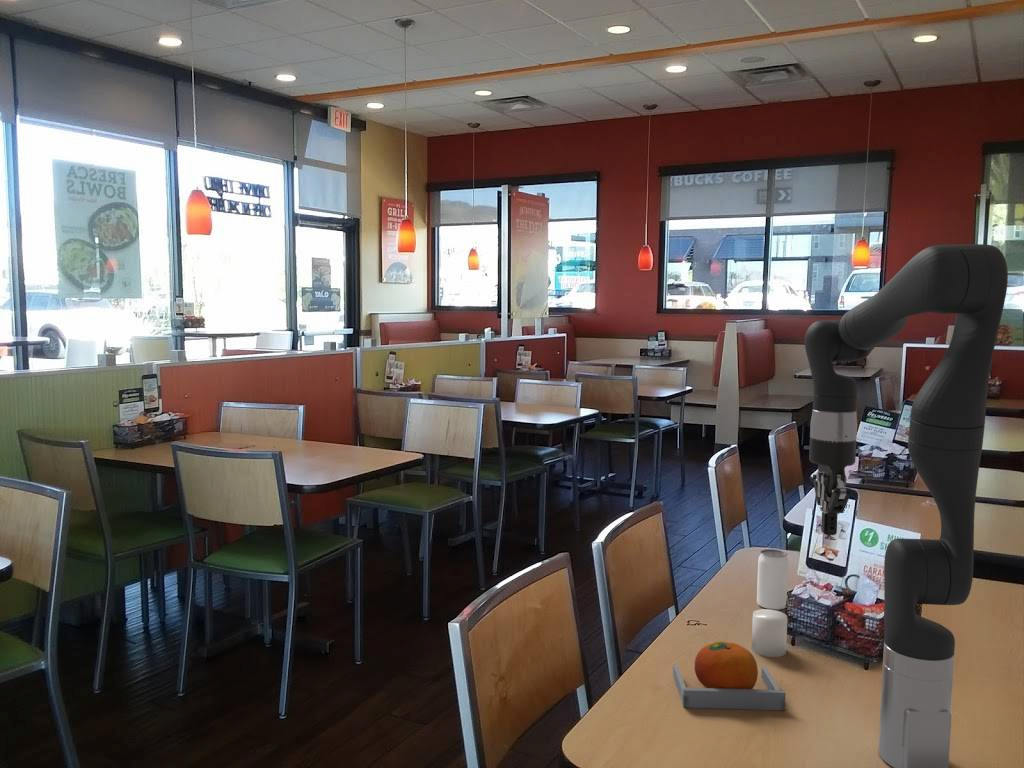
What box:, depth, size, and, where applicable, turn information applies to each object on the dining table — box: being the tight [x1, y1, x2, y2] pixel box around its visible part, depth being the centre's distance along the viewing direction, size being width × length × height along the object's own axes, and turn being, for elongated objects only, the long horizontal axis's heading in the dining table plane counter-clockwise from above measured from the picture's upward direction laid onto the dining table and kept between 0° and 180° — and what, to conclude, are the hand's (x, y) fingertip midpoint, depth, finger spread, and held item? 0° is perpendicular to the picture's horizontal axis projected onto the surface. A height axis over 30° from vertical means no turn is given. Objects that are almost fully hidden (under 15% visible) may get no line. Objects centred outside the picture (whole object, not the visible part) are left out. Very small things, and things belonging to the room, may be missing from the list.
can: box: [756, 548, 790, 611], centre depth 183 cm, size 6×6×12 cm
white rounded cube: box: [751, 608, 788, 658], centre depth 160 cm, size 6×6×7 cm
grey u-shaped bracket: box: [672, 664, 786, 711], centre depth 143 cm, size 12×17×3 cm
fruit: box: [693, 641, 759, 689], centre depth 143 cm, size 11×10×8 cm
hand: (828, 533), depth 144 cm, fingers closed
